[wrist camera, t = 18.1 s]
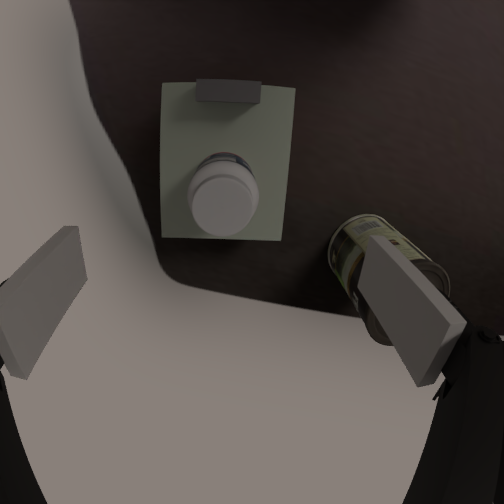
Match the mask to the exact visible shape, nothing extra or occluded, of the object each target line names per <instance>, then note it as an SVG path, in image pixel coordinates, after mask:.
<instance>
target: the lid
mask: <svg viewBox="0 0 504 504" xmlns="http://www.w3.org/2000/svg"><path fill="white" fill-rule="evenodd" d="M261 83H262V82H261V81H247V80H227V79H196V82H178V83H162V98H161V124H160V202H161V230H162V237H169V238H208V239H243V240H274V241H281V236H282V227H283V217H284V208H285V198H286V189H287V179H288V168H289V158H290V147H291V136H292V125H293V113H294V101H295V89H296V88H288V87H278V86H268V85H261ZM218 152H230V153H234V154H237V155H239V156H240V157H242V158H243V159H244V160H245V161H246V162H247V163H248V165H249V166H250V168H251V170H252V173H253V175H254V177H255V180H256V183H257V186H258V190H259V202H258V206H257V209H256V211H255V213H254V215H253V216H252V218H251V220H250V221H249V223H248V224H247V226H246V227H245V228H244V229H242V230H241V231H240V232H238V233H236V234H234V235H231V236H225V237H220V236H214V235H211V234H209V233H207V232H205V231H204V230H202V229H201V228H200V227H199V226H198V225H197V223H196V222H195V220H194V218H193V214H192V212H191V210H190V208H189V205H188V199H187V192H188V187H189V183H190V181H191V178H192V176H193V175H194V173H195V171H196V169H197V167H198V166H199V164H200V163H201V162H202V161H203V160H204V159H205V158H206V157H208V156H210V155H212V154H214V153H218Z"/></svg>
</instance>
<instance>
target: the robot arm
mask: <svg viewBox="0 0 504 504" xmlns="http://www.w3.org/2000/svg"><path fill="white" fill-rule="evenodd" d="M86 281H87V276H86V270H85V265H84V259H83V254H82V248H81V242H80V235H79V228H78V226H64V227H63V228H62V229H60V230H59V231H58V232H57V233H56V234H55V235H54V236H52V237H51V238H50V239H49V240H48V241H47V242H46V243H45V244H44V245H43V246H41V247H40V248H39V249H38V250H37V251H36V252H35V253H34V254H33V255H32V256H31V257H30V258H29V259H28V260H27V261H26V262H25V263H24V264H23V265H22V266H21V267H20V268H19V269H18V270H17V271H16V272H15V273H14V274H13V275H12V276H11V277H10V278H8V279H7V280H5V281H3V282H2V283H1V285H0V369H1V368H2V366H3V364H5V366H6V368H7V369H8V371H9V373H10V375H11V376H14V377H18V378H21V379H26V380H27V379H28V377H29V375H30V373H31V371H32V369H33V367H34V365H35V363H36V362H37V360H38V358H39V356H40V355H41V353H42V351H43V349H44V348H45V346H46V344H47V342H48V341H49V339H50V337H51V336H52V334H53V332H54V331H55V329H56V327H57V326H58V324H59V322H60V321H61V319H62V318H63V316H64V314H65V313H66V311H67V310H68V308H69V307H70V305H71V303H72V302H73V300H74V299H75V297H76V296H77V294H78V293H79V291H80V290H81V288H82V287H83V285H84V284H85V282H86ZM357 287H358V289H359V290H360V292H361V293H362V295H363V297H364V298H365V300H366V301H367V303H368V305H369V306H370V308H371V309H372V311H373V313H374V314H375V316H376V317H377V319H378V321H379V322H380V324H381V326H382V327H383V329H384V330H385V332H386V334H387V335H388V337H389V339H390V340H391V342H392V344H393V346H394V347H395V349H396V351H397V352H398V354H399V356H400V357H401V359H402V361H403V363H404V364H405V366H406V368H407V370H408V371H409V373H410V375H411V377H412V378H413V380H414V382H415V384H416V386H417V387H421V386H426V385H430V384H434V383H435V381H436V379H437V378H438V376H439V374H440V373H441V371H442V373H443V375H444V376H445V380H444V382H443V383H442V385H441V387H440V388H439V390H438V391H437V393H436V394H435V396H434V397H433V400H436V398H437V397H438V396H439V398H438V402H437V406H436V410H435V413H434V417H433V421H432V424H431V427H430V431H429V434H428V437H427V441H426V444H425V447H424V450H423V453H422V455H421V458H420V461H419V464H418V467H417V469H416V472H415V475H414V477H413V480H412V482H411V485H410V487H409V490H408V492H407V494H406V497H405V499H404V501H403V503H402V504H504V341H502V340H501V338H500V336H499V335H498V334H497V333H496V332H495V331H493V330H492V329H490V328H488V327H485V326H476V327H475V326H474V325H473V324H472V323H471V321H470V320H469V319H468V318H467V317H466V316H465V315H464V314H463V312H462V311H461V310H460V309H459V308H457V306H456V305H455V304H454V303H453V302H451V299H450V298H449V297H448V296H447V295H446V294H445V293H444V292H442V291H441V290H439V289H438V288H436V287H435V286H434V285H433V284H432V283H431V282H430V281H429V280H428V279H427V278H426V277H425V276H424V275H423V274H422V273H421V272H420V271H419V270H418V269H417V268H416V267H415V266H414V265H413V264H412V263H411V262H410V261H409V260H408V259H407V258H406V257H405V256H404V255H403V254H402V253H401V252H400V251H399V250H398V249H397V248H396V247H395V246H394V245H393V244H392V243H391V242H390V241H389V240H388V239H387V238H386V237H385V236H377V235H370V236H369V241H368V245H367V250H366V254H365V258H364V262H363V266H362V270H361V274H360V278H359V282H358V286H357ZM0 504H47V502H46V500H45V498H44V496H43V494H42V491H41V489H40V487H39V485H38V483H37V480H36V478H35V476H34V473H33V471H32V469H31V466H30V464H29V461H28V458H27V456H26V453H25V450H24V448H23V445H22V442H21V439H20V436H19V433H18V430H17V426H16V423H15V420H14V416H13V413H12V409H11V406H10V402H9V398H8V394H7V389H6V385H5V381H4V377H3V375H2V373H1V371H0Z"/></svg>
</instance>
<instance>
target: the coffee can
mask: <svg viewBox="0 0 504 504" xmlns="http://www.w3.org/2000/svg"><path fill="white" fill-rule="evenodd" d="M370 235H377V236H385V237H386V238H387V239H388V240H389V241H390V242H391V243H392V244H393V245H394V246H395V247H396V248H397V249H398V250H399V251H400V252H401V253H402V254H403V255H404V256H405V257H406V258H407V259H408V260H409V261H410V262H411V263H412V264H413V265H414V266H415V267H416V268H417V269H418V270H419V271H420V272H421V273H422V274H423V275H424V276H425V277H426V278H427V279H428V280H429V281H430V282H431V283H432V284H433V285H434V286H435V287H436V288H438V289H439V290H441V291H442V292H444V293H445V294H446V295H447V296H448V297H449V295H450V280H449V277H448V275H447V273H446V271H445V270H444V269H443V268H442V267H441V266H440V265H438V264H437V263H435V262H433V261H432V260H431V259H430V258H429V257H428V256H426V255H425V254H424V253H423V252H422V251H421V250H420V249H418V248H417V247H416V246H415V245H414V244H413V243H411V242H410V241H409V240H408V239H407V238H405V237H404V236H403V235H402V234H401V233H399V232H398V231H397V230H396V229H394V228H393V227H392V226H391V225H390V224H389V223H388V222H387V221H386V220H384V219H383V218H381V217H379V216H377V215H373V214H362V215H358V216H355V217H352V218H350V219H349V220H347V221H346V222H344V223H343V224H342V225H341V226H340V227H339V228H338V229H337V230H336V232H335V233H334V235H333V236H332V238H331V241H330V243H329V247H328V261H329V265H330V267H331V269H332V271H333V272H334V273H335V275H336V276H337V278H338V279H339V281H340V283H341V284H342V286H343V287H344V289H345V291H346V292H347V294H348V296H349V298H350V299H351V301H352V303H353V304H354V306H355V308H356V309H357V311H358V313H359V314H360V316H361V318H362V320H363V321H364V323H365V326H366V328H367V330H368V333H369V334H370V336H371V337H372V338H373V339H374V340H375V341H376V342H378V343H380V344H382V345H387V346H393V344H392V342H391V340H390V339H389V337H388V335H387V334H386V332H385V330H384V329H383V327H382V326H381V324H380V322H379V321H378V319H377V317H376V316H375V314H374V313H373V311H372V309H371V308H370V306H369V305H368V303H367V301H366V300H365V298H364V297H363V295H362V293H361V292H360V290H359V289H358V287H357V286H358V282H359V278H360V274H361V270H362V266H363V262H364V258H365V254H366V250H367V245H368V241H369V236H370Z"/></svg>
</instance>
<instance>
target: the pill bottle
mask: <svg viewBox="0 0 504 504" xmlns="http://www.w3.org/2000/svg"><path fill="white" fill-rule="evenodd" d="M187 199H188V205H189V208H190V210H191V212H192V214H193V218H194V220H195V222H196V223H197V225H198V226H199V227H200V228H201V229H202V230H204V231H205V232H207V233H209V234H211V235H214V236H220V237H225V236H231V235H234V234H236V233H238V232H240V231H241V230H242V229H244V228H245V227H246V226H247V224H248V223H249V221H250V220H251V218H252V216H253V215H254V213H255V211H256V209H257V206H258V202H259V190H258V186H257V183H256V180H255V177H254V175H253V173H252V170H251V168H250V166H249V165H248V163H247V162H246V161H245V160H244V159H243V158H242V157H240V156H239V155H237V154H234V153H230V152H218V153H214V154H212V155H210V156H208V157H206V158H205V159H204V160H203V161H202V162H201V163H200V164H199V166H198V167H197V169H196V171H195V173H194V175H193V176H192V178H191V181H190V183H189V187H188V192H187Z"/></svg>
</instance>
